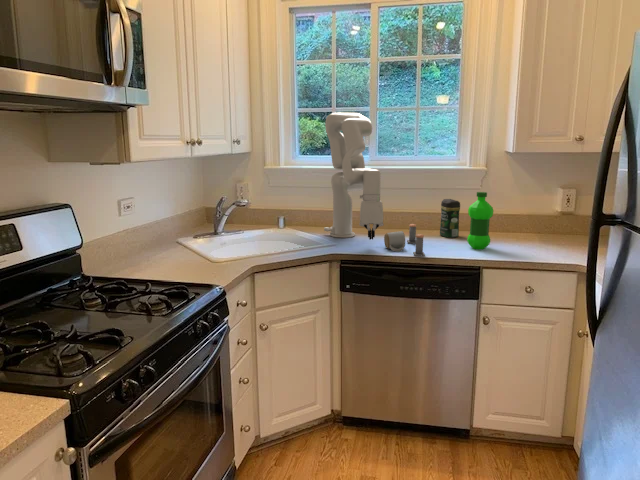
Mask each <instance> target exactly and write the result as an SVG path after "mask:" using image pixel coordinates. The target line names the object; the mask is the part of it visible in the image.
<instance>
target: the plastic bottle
mask: <svg viewBox="0 0 640 480" xmlns="http://www.w3.org/2000/svg"><path fill="white" fill-rule="evenodd" d="M476 197H477V200H476V201H474V202H473V203H471V204H470V205H469V207H468V209H467V213H468V216H469V218H470V222H469V223H470V225H469V234H468V235H467V239H466V241H467V243H468V244H469V246H470V247H471V249H472V250H476V251H477V250H485V249H486V248H487V247H488V246H489V245H490V243H491V236H490V234H489V233H490V221H491V220H490V219H491V218H492V217H493V216H494V208H493V206H492V205H491V204H490V203H489V202H488V201H487V200H486V198H487V197H488V192H487V191H477V192H476Z"/></svg>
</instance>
